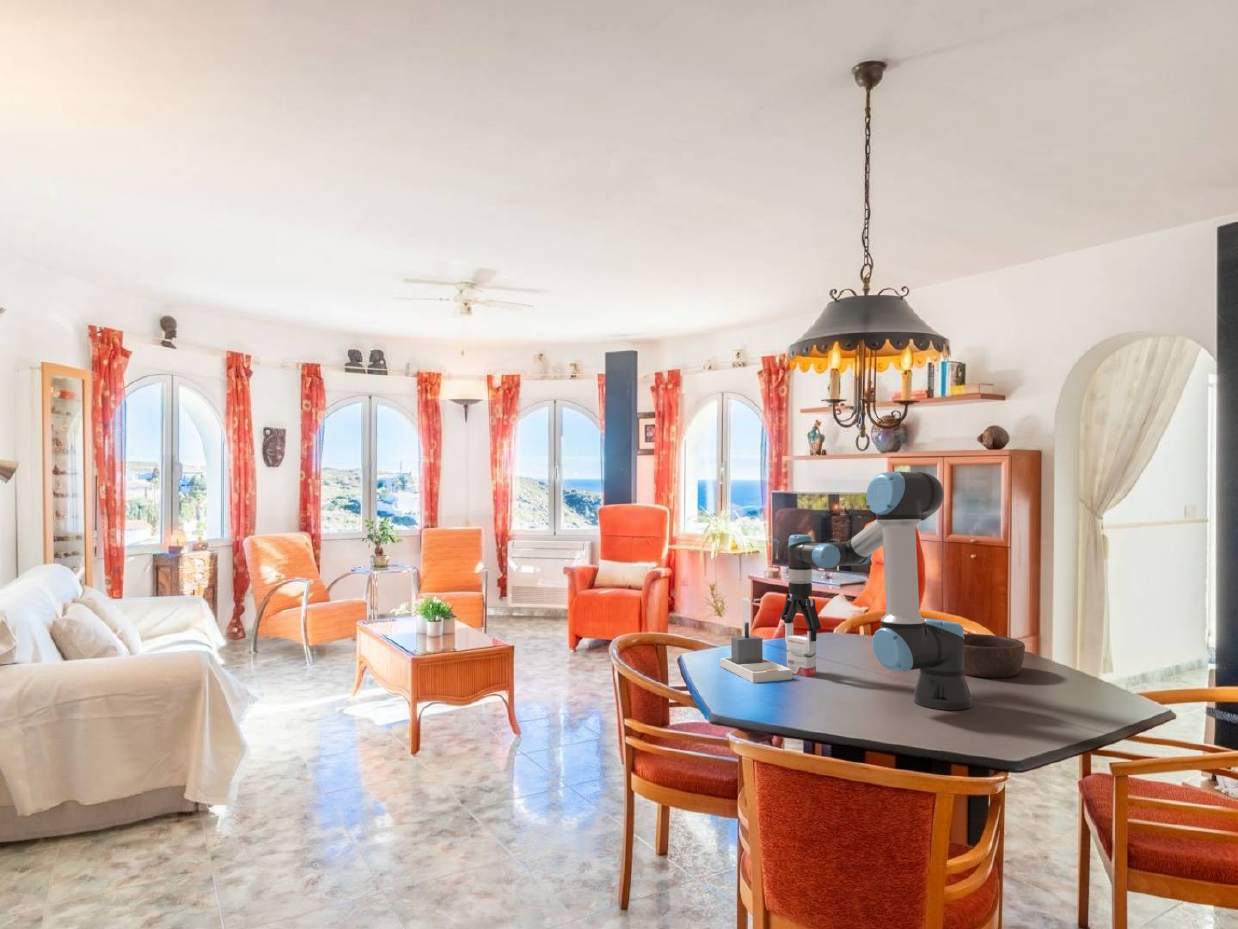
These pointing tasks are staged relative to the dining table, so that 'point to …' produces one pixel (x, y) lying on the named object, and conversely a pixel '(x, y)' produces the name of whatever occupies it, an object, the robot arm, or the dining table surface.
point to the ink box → (800, 656)
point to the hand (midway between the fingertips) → (800, 647)
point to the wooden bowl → (992, 656)
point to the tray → (757, 670)
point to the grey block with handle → (746, 648)
